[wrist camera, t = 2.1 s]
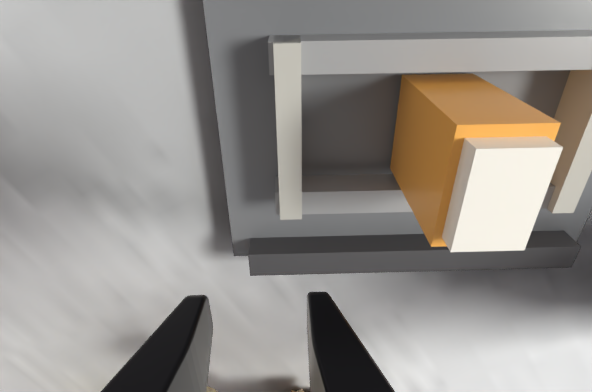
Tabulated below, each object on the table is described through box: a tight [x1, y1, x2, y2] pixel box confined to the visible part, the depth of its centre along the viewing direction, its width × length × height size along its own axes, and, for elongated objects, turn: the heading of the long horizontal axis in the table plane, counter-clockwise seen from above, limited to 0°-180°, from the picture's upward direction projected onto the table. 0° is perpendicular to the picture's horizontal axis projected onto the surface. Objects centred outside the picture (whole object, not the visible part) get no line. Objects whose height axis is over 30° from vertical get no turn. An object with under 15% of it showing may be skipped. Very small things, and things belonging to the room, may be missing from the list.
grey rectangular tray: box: [203, 0, 592, 256], centre depth 17 cm, size 19×15×3 cm
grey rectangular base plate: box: [248, 230, 581, 276], centre depth 17 cm, size 17×15×1 cm
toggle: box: [390, 73, 563, 252], centre depth 14 cm, size 3×4×7 cm
